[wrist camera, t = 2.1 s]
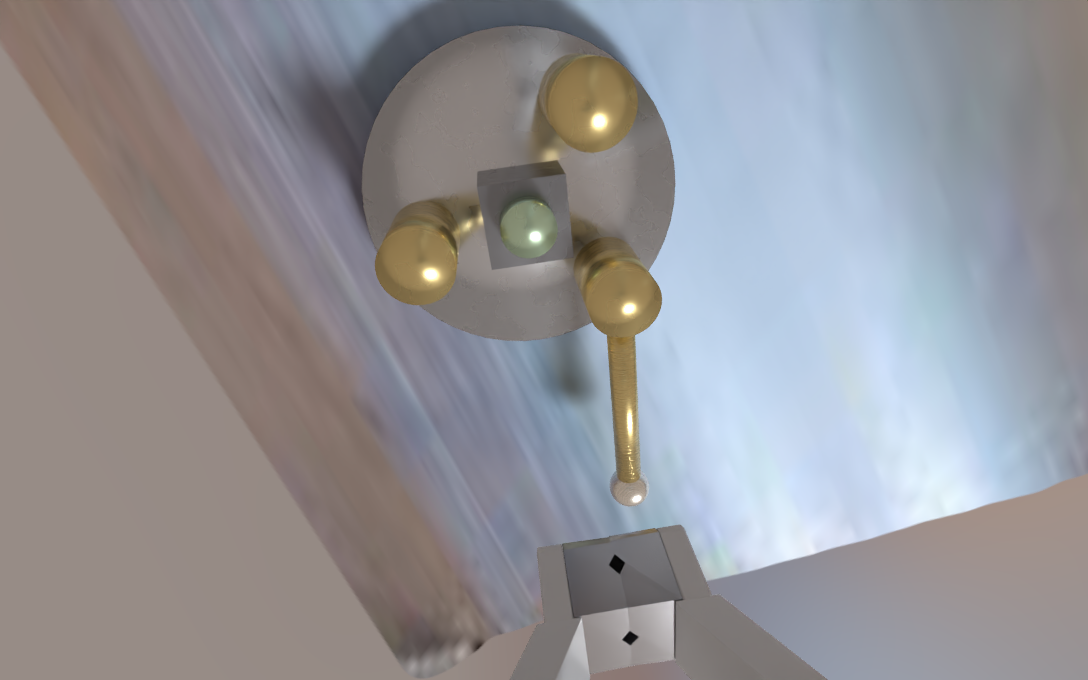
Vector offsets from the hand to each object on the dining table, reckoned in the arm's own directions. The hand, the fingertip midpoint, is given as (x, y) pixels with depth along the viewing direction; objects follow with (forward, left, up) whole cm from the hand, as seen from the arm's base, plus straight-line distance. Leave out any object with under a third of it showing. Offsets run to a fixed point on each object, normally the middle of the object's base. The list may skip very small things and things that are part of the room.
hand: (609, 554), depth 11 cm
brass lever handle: (+13, +5, -27) cm, 30 cm away
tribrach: (0, 0, -29) cm, 29 cm away
